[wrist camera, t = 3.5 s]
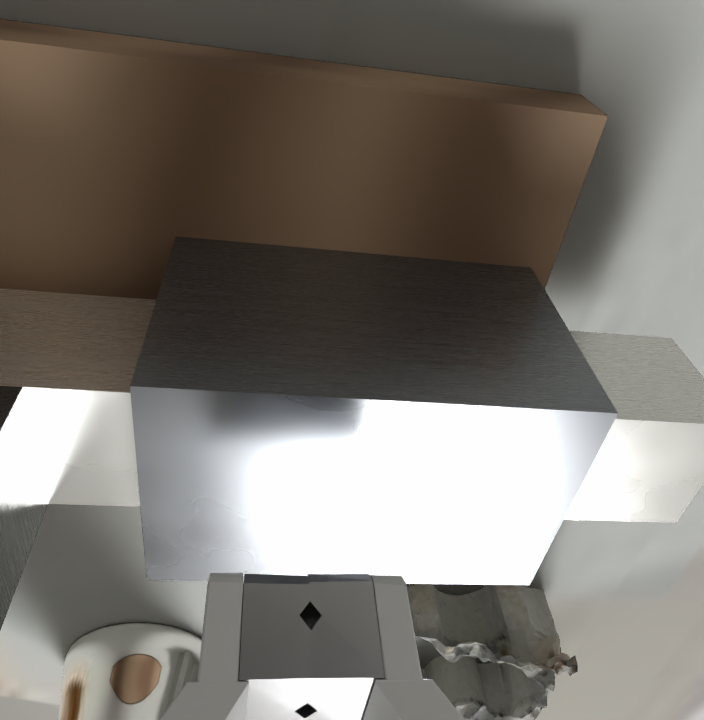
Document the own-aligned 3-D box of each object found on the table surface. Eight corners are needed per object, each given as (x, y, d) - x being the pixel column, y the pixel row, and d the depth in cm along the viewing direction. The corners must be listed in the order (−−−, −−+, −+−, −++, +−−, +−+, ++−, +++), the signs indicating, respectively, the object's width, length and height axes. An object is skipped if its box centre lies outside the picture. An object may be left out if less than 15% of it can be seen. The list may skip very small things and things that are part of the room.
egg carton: (557, 563, 25) (597, 665, 22) (520, 661, 30) (549, 758, 27) (285, 577, 25) (285, 685, 21) (289, 676, 29) (290, 778, 26)
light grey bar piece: (671, 334, 15) (945, 673, 9) (621, 430, 17) (817, 767, 11) (-346, 258, 12) (-1032, 687, 6) (-274, 384, 14) (-738, 814, 8)
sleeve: (531, 267, 15) (618, 412, 11) (476, 426, 18) (529, 585, 14) (175, 236, 14) (129, 386, 10) (180, 410, 17) (146, 580, 13)
